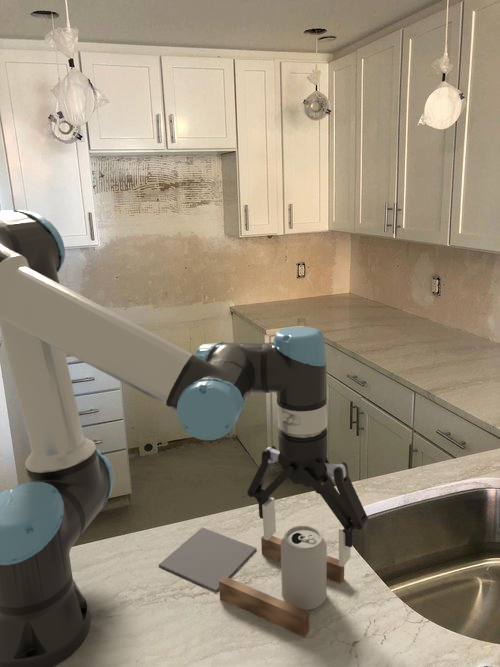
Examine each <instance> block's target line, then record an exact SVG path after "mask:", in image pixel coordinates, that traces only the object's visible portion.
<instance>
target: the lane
mask: <svg viewBox="0 0 500 667" xmlns="http://www.w3.org/2000/svg"><path fill="white" fill-rule="evenodd" d="M260 539H261V540H260V541H261V542H260V543H261V554H262V555H264V556H266V557H269V558H272V559H274V560H277V561H279V562H281V541H282V539H283V538H279V537H276V536H274V535H273V536H272V537H271V538H270V539H269V540H265V539H264V534H263V535H262V536H261V538H260ZM327 580H329V581H332V582H333V583H337V584H339V585H341V584H342V583H343V582H344V580H345V566H344V567H342V566H339V558H335V557H332V556H329V555H327ZM218 591H219V600H221V601H224V602H226V603H228V604H230V605H232V606H235V607H237V608H239V609H241V610H243V611H246V612H247V613H250V614H252V615H254V616H256V617H258V618H261V619H263V620H265V621H268V622H269V623H271V624H274V625H276V626H278V627H281V628H283V629H285V630H287V631H289V632H291V633H294V634H296V635H297V636H300V637H303V638H306V636H308V634H309V632H310V612H309V611H308V610H303V609H300V608H298V607H296V606H293V605H291V604H289V603H286V602H285V601H284V600H281V599H279V598H277V597H274V596H272V595H270V594H267V593H265V592H262V591H261V590H258V589H257V588H256V589H255V588H253V587H251V586H248V585H246V584H244V583H242V582H240V581H237V580H235V579H233V578H231V577H230V578H228V577H225V576H223V577H222V579H221V580H220V581H219V590H218Z"/></svg>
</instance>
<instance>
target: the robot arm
mask: <svg viewBox="0 0 500 667" xmlns="http://www.w3.org/2000/svg"><path fill="white" fill-rule="evenodd" d="M65 256H66V248H65V244H64V240H63V238H62V236H61V234H60V232H59V231H58V228H57V227H56V226H55V225H54V224H53V223H52V222H51V221H49V220H48V219H47V218H45V217H44V216H43V215H41V214H38V213H35V212H33V211H29V210H18V209H12V210H11V209H6V210H0V332H1V335H2V339H3V343H4V347H5V351H6V355H7V358H8V363H9V367H10V371H11V375H12V379H13V383H14V387H15V391H16V394H17V399H18V402H19V403H18V404H19V406H20V410H21V414H22V418H23V421H24V422H23V423H24V426H25V430H26V434H27V437H28V441H29V446H30V449H31V452H30V454H29V455H28V457H27V458H26V460H25V461H24V462H25V463H24V466H25V470H26V473H27V478H28V482H24V483H23V482H22V483H20V484H17V485H14V486H13V488H11V489H8V488H7V489H5V490H4V491H2V492H0V667H54V666H55V665H57V664H59V663H61V662H63V661H64V660H66V659H67V658H69V656H71V655H72V654H73V653H74V652H75V651H76V650H77V649H78V648H79V647H80V646H81V645H82V643H83V642H84V641H85V638H86V637H87V635H88V633H89V631H90V630H89V629H90V626H91V616H90V610H89V605H88V601H87V600H86V599H85V596H84V595H83V593H82V592H81V590H80V588H79V587H78V585H77V584H76V582H75V580H74V578H73V572H72V565H71V557H70V552H71V549H72V548H73V547H74V545H75V544H76V542H77V541H78V540H79V538H80V537H81V536H82V534H83V533H84V532H85V531H86V529H87V528H88V527H89V526H90V524H91V523H92V522H93V520H95V518H96V517H97V516H98V514H99V513H101V511H102V510H103V508H104V507H105V506H106V505H107V502H108V499H109V498H110V496H111V494H112V492H113V490H114V486H115V485H114V484H115V473H114V468H113V466H112V464H111V462H110V460H109V458H108V457H107V456H106V455H105V456H104V455H102V451H100V449H97V446H96V443H95V442H94V441H93V440H91V439H89V438H87V437H85V435H84V431H83V426H82V422H81V417H80V414H79V409H78V406H77V400H76V396H75V391H74V387H73V382H72V377H71V374H70V369H69V365H68V361H67V360H68V359H67V357H66V356H67V355H66V354H68V355H70V356H71V357H73V358H75V359H77V360H79V361H81V362H83V363H85V364H87V365H89V366H91V367H92V368H95V369H96V370H98V371H100V372H102V373H104V374H106V375H107V376H109V377H111V378H114V379H116V380H117V381H119V382H122V383H123V384H125V385H127V386H129V387H131V388H132V389H135V390H137V391H139V393H142V394H143V395H146V396H148V397H150V398H152V399H154V400H156V401H157V402H160V403H161V404H163V405H165V406H167V407H169V408H170V409H172V410H174V411H175V412H176V416H177V420H178V422H179V424H180V425H181V427H182V428H183V429H184V430H185V432H186V433H187V434H188V435H189V436H191V437H193V438H195V439H198V440H201V441H215V440H218V439H221V438H223V437H224V436H226V435H227V434H228V433H230V432H231V431H232V429H233V428H234V426H235V424H236V423H237V422H238V421H239V420H240V418H241V417H242V414H243V412H244V411H243V410H244V407H245V404H246V403H247V402H246V401H247V400H248V399H249V396H250V394H257V393H258V394H259V393H260V394H270V393H275V394H276V411H277V427H278V432H277V438H278V441H277V442H278V449H277V448H276V446H275V445H272V444H270V445H269V446H268V447H267V448H265V449H264V450H263V451H262V452H261V461H260V462H261V463H260V464H259V467H258V469H257V471H256V473H255V475H254V478H253V479H252V481H251V484H250V486H249V488H248V489H247V496H248V497H250V498H255V499H256V501H257V503H258V516H259V518H260V519H262V522H263V523H262V524H263V529H262V530H263V535H264V539H265V540H269V539H270V538H271V537H272V536H274V535H275V533H277V526H276V525H277V524H276V506H275V504H276V503H275V502H276V501H275V498H274V497H270V496H272V494H273V493H274V492H275V491H276V490H277V489H278V488H279V487H280V486H281V485H282V484H284V483H285V482H286V481H287V479H289V481H291V482H292V484H296V485H302V486H304V487H306V488H311V487H312V490H314V491H315V493H316V494H319V495H320V496H321V497H322V499H323V501H324V502H325V503H326V505H327V506H328V507H329V509H330V510H331V512H332V513H333V515H335V518H336V519H337V520H338V521H339V523H340V524H341V525H340V526H339V528H338V560H339V566H342V567H344V568H345V566H346V564H347V563H348V561H349V560H350V559H351V548H352V547H353V545H355V542H356V540H357V534H356V531H361V530H362V529H363V528H364V527H365V525H366V524H367V522H368V521H369V517H368V515H367V513H366V511H365V508H364V506H363V504H362V502H361V500H360V498H359V495H358V493H357V491H356V489H355V487H354V485H353V482H352V480H351V478H350V476H349V468H348V464H347V463H346V462H344V461H342V462H341V461H340V463H339V464H337V463H330V462H329V460H328V429H327V426H328V409H327V354H326V353H327V352H326V338H325V336H324V333H322V332H321V330H319V329H318V328H315V327H311V326H292V327H283V328H281V329H278V330H277V331H276V332H275V334H274V336H273V337H274V338H273V341H271V342H259V343H258V342H226V341H225V342H224V341H218V342H211V343H203V344H201V345H200V346H199V347H198V348H197V349H196V351H195V354H193V353H191V352H189V351H188V350H185V349H183V348H182V347H180V346H178V345H176V344H174V343H173V342H171V341H168V340H167V339H165V338H163V337H161V336H159V335H157V334H155V333H153V332H151V331H149V330H148V329H146V328H144V327H142V326H140V325H138V324H136V323H135V322H133V321H131V320H129V319H127V318H125V317H123V316H120V315H119V314H117V313H115V312H114V311H112V310H110V309H107V308H106V307H104V306H102V305H100V304H99V303H97V302H95V301H93V300H90V299H89V298H87V297H85V296H84V295H82V294H80V293H77V292H76V291H74V290H72V289H70V288H68V287H66V286H64V285H62V284H60V280H59V276H58V273H59V272H60V270H61V268H62V266H63V265H64V262H65V258H66V257H65ZM275 462H278V464H279V465H280V467H281V468H282V469H283V471H281V473H279V475H278V476H276V478H275V479H273V481H272V482H271V483H270V484H269V485H268V486H267V487H266V488H265V489H263V485H264V483H265V481H266V479H267V477H268V475H269V473H270V472H271V469H272V467H273V466H274V463H275ZM328 474H330V476H331V477H330V476H329V475H328ZM320 481H322V483H321V482H320ZM333 481H334V483H335V485H334V484H333Z"/></svg>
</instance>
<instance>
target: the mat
mask: <svg viewBox="0 0 500 667" xmlns="http://www.w3.org/2000/svg"><path fill="white" fill-rule="evenodd" d="M256 551H257V547H255V546H252V545H250V544H247V543H244V542H241V541H239V540H236V539H234V538H232V537H229V536H226V535H224V534H221V533H218V532H216V531H213V530H211V529H207V528H205V527H201V528H199V529H198V530H197V531H196V532H195V533H194V534H193V535H191V536H190V537H189V538H188V539H187V540H186V541H184V542H183V543H182V544H181V545H180V546H179V547H176V549H175V550H174V551H173V552H171V553H170V554H169V555H168V556H167V557H166V558H165V559H164V560H162V561H161V562H160V563H159V564H158V567H159V568H162V569H165V570H167V571H169V572H172V573H173V574H175V575H177V576H180V577H182V578H184V579H186V580H189V581H191V582H194V583H196V584H198V585H200V586H202V587H204V588H206V589H208V590H211V591H213V592H215V593H217V592H218V591H219V581H220V580H221V579H222V577H223V576H225V577H228V578H230V579H231V577H232V576H233V575H234V574H235V573H236V572H237V571H238V570H239V569H240V567H241V566H243V564H245V562H247V560H248V559H249V558H250V557H251V556H252V555H253V554H254V553H255V552H256Z"/></svg>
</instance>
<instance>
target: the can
mask: <svg viewBox="0 0 500 667" xmlns="http://www.w3.org/2000/svg"><path fill="white" fill-rule="evenodd" d="M281 539H282V541H281V561H280V568H281V569H280V571H281V573H280V576H281V577H280V578H281V597H282V599H283V601H284V602H286V603H289V604H291V605H293V606H296V607H298V608H300V609H303V610H305V611H311V610H314V609H316V608H318V607H320V606H322V605H323V604H324V602H325V601H326V598H327V580H328V579H327V556H328V555H327V554H328V553H327V549H328V548H327V547H328V546H327V542H326V540H325V538H324V537H323V534H322V533H321V531H320V530H319V529H317V528H316V527H313V526H311V525H306V524H300V525H294V526H292V527H289V528H288V529H287V530H286V531H285V532H284V536H283V537H282V538H281Z"/></svg>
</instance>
